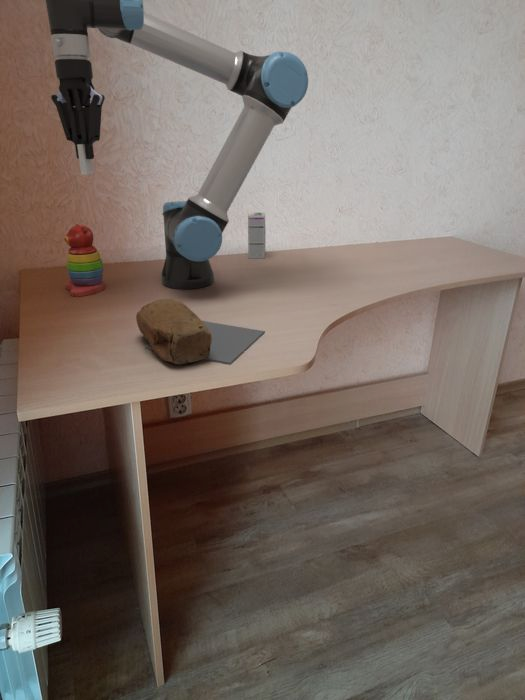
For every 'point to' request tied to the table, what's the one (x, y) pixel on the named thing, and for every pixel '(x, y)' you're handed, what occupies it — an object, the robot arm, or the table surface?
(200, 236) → the robot arm
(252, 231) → the syrup box
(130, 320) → the table surface
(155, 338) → the block
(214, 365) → the table surface
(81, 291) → the stacking bear
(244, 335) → the mat
